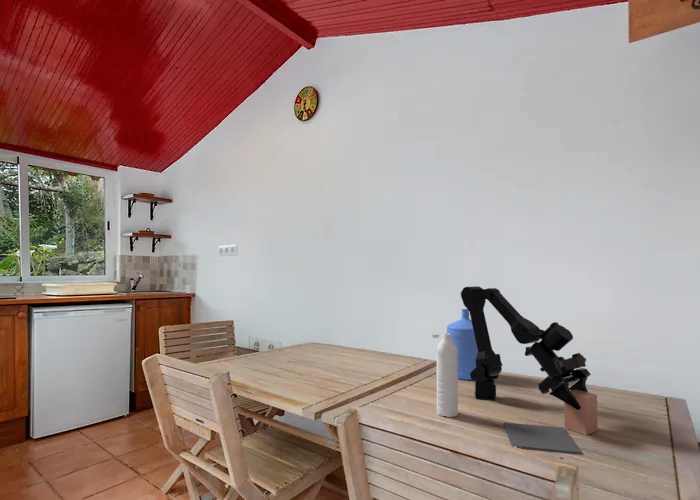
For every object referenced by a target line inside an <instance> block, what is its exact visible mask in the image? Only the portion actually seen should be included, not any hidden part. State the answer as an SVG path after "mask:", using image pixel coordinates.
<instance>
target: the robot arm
mask: <svg viewBox="0 0 700 500" xmlns="http://www.w3.org/2000/svg"><path fill="white" fill-rule="evenodd" d="M460 298H461V300H462V302H463V303H462V304H463V306H464V307H465V309H468V310H469V317H470V320H471V321H472V326H473V330H474V335H475V340H476V345H477V349H478V353H477V357H476V368H475V369H474V370H473V371H472V372H471V373H470V376H471V379H472V380H471V381H474V396H475V397H474V398H475V400H476V399H477V400H478V399H479V400H491V401H495V400H496V397H497V385H496V383H495V380H498V378H499V375H500V374H501V372H502V370H503V367H502V366H503V365H504V364H503V363H502V361H501V359H502V358H501V354H500V353H495V351H494V350H493V347H492V343H491V339H490V334H489V329H488V326H487V325H488V324H487V321H486V315H485V312H484V308H485V305H486V301H488V302H489V303H490V304H491V306H492V307H493V308H494V309H495V310H496V311H497V312H498V313H499V314H500V315H501V317H502V318H503V319H504V320H505V321H506V322H507V324H508V325H509V326H510V331H511V333H512V335H513V336H514V338H515V340H516V341H517V342H518V343H519V344H522V345H528V344H532V345H531V346H525V351H524V356H526V357H528V356H533V358H534V359H535V361H537V363H538V364H539V366H540V368H539V370H540V371H541V372H543V373H544V372H545V373H546V374H547V376H546V377H545V378H544V379H543V380H541V381H540V382H539V383H538V386H537V387H538V391H540V393H541V394H542V395H545V394H549V396H553V397H555V398H557V399H559V400H560V401H562V402H565V403H567V404H569V405H570V406H572V407H573V408H575V409H577V410H579V409H581V407H580V405H579V404H578V402H577V401H576V399H575V398H574V396H573V395H572V393H571V392H570V391H572V390H575V389H577V390H580V391H584V392H588V393H589V391H588V388H587V385H586V383H587V380H588V377H590V376H591V373H590V372H589V370H588V369H587V368H585V367H587V365H586V362H587V358H586V357H584V355H583V354H582V353H580V352H577V353H574V354H573V353H572V355H571V357H569V358H566V359H565V357H563V356H558V355H557V353H556V352H560V350H562V349H563V348H564V347H566V346H567V344H569V343H570V342H571V341H572V340H573V339H574V336H573V333H572V332H571V331H570V329H567V328H566V327H564V326H563V325H561V324H559V323H558V322H557V321H555V322H551V324H549V327H547V328H546V330H544V329H541V328H540V327H538V326H537V324H535V323H534V322H532V321H531V320H529V319H527V318H525V317H524V316H522V315H521V314H520V312H518V311H517V310H516V308H515V307H514V306H513V305H512V304H511V303H510V302H509V301H508V300H507V299H506V297H504V295H503V294H502V293H501V291H500V289H498V288H496V287H490V288H489V287H488V288H483V287H481V286H476V285H475V286H465V287H463V288H462V290H461V291H460ZM555 351H556V352H555ZM550 390H551V391H550Z"/></svg>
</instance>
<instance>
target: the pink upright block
mask: <svg viewBox="0 0 700 500" xmlns="http://www.w3.org/2000/svg"><path fill="white" fill-rule="evenodd" d="M570 392H571V393H572V395H573V396H574V398H575V399H576V401H577V402H578V404H579V405H580V407H581V409H579V410H577V409H575V408H573V407H572V406H570V405H569V404H567V403H565V402H564V401H563V402H564V404H563V405H564V429H567V430H570V431H572V432H576V433H579V434H581V435H584V436H587V435H591V434H592V433H595V432H598V430H599V429H598V394H595V393H591V392H589V391H588V392H584V391H580V390H577V389H575V390H572V391H570Z"/></svg>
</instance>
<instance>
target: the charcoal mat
mask: <svg viewBox="0 0 700 500" xmlns="http://www.w3.org/2000/svg"><path fill="white" fill-rule="evenodd" d="M503 426H504V429H505V431H506V434H507V436H508V440H509V443H510V445H511V447H512V446H517V447H521V448H520V449H523V448H526V449H525V450H532V451H533V450H535V451H545V452H555V453H565V454H574V455H582V451H581V450H580V448H579V447H578V445H577V444H576V443H575V441H574V440H573V439H572V438H571V436H570V435H569V434H568V433H567V431H566V429H565V427H560V426H549V425H537V424H528V423H527V424H526V423H515V422H506V421H505V422H504V421H503Z"/></svg>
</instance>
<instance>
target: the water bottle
mask: <svg viewBox="0 0 700 500" xmlns="http://www.w3.org/2000/svg"><path fill="white" fill-rule="evenodd" d="M430 338H433V339H437V338H440V334H439V333H431V334H430ZM435 350H436V351H435V352H436V414H437V415H438V414H439V415H438V416H441V417H443V416H446V418H455V417H457V416H458V415H459V406H458V404H459V403H458V402H459V401H458V397H459V395H458V394H459V393H458V389H459V388H458V383H459V382H458V381H459V379H458V374H457V372H458V371H457V370H458V369H457V367H458V366H457V354H458V351H457V347H456V346H455V344H454V342H453V341H452V339H451V334H448V333H447V332H446V333H443V334H442V339H441V341H440V342H439V343H438V344H437V347H436V349H435Z"/></svg>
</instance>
